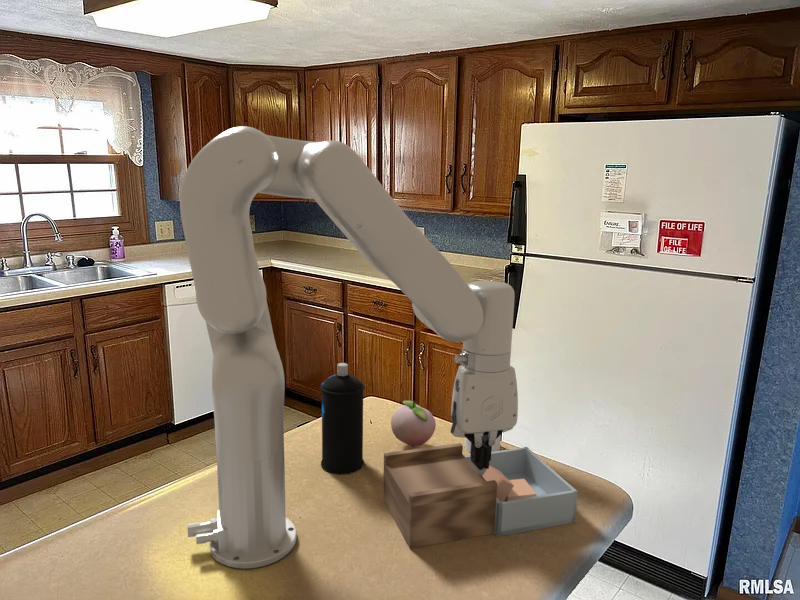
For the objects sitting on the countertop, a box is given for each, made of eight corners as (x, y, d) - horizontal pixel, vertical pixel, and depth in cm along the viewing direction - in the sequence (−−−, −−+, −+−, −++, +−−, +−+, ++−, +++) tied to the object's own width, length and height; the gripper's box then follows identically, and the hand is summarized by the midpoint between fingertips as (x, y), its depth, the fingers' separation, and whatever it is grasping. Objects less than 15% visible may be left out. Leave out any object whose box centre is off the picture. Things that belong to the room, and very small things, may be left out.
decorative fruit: (381, 443, 121) (382, 398, 119) (412, 433, 126) (414, 389, 124) (409, 462, 114) (410, 413, 111) (441, 450, 118) (443, 404, 116)
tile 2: (536, 494, 97) (535, 507, 98) (524, 478, 102) (523, 491, 102) (508, 496, 96) (507, 510, 97) (497, 481, 101) (496, 494, 101)
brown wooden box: (409, 548, 88) (411, 496, 86) (383, 499, 101) (384, 453, 99) (494, 533, 92) (497, 483, 90) (458, 487, 105) (460, 443, 103)
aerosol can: (372, 461, 114) (373, 362, 109) (346, 479, 107) (346, 375, 102) (338, 449, 118) (338, 354, 114) (311, 466, 111) (310, 366, 107)
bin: (497, 536, 91) (499, 504, 90) (456, 484, 106) (457, 456, 105) (574, 522, 95) (577, 491, 94) (524, 474, 110) (526, 447, 109)
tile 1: (503, 479, 95) (514, 485, 96) (489, 465, 100) (499, 470, 101) (486, 505, 96) (497, 511, 96) (473, 489, 100) (484, 495, 101)
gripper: (451, 371, 87) (447, 483, 91) (540, 363, 92) (531, 470, 96) (433, 355, 94) (429, 460, 98) (516, 349, 99) (509, 449, 103)
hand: (480, 465), depth 97 cm, fingers closed
